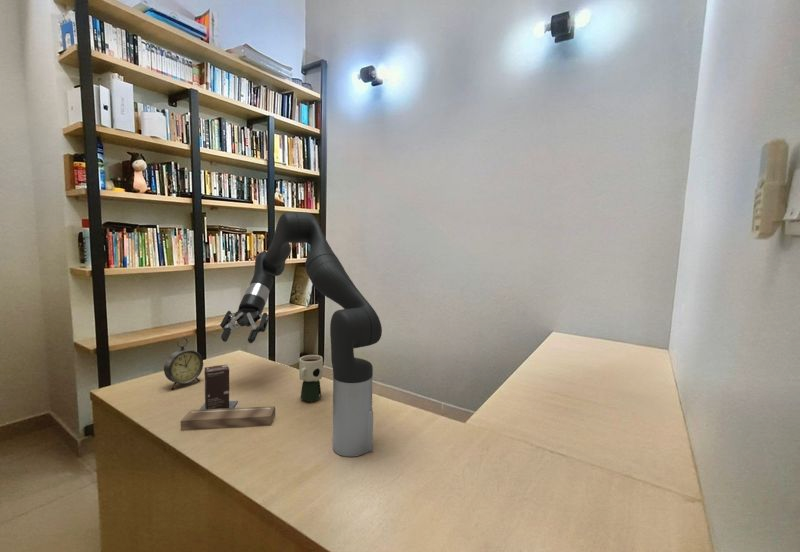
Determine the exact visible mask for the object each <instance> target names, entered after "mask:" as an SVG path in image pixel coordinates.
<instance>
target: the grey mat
mask: <svg viewBox="0 0 800 552" xmlns="http://www.w3.org/2000/svg"><path fill="white" fill-rule="evenodd" d="M238 402H239V401H238V400H229V408H236V406H237V404H238ZM204 409H205V403H204V404H203V405H202V406H201V407H200V408H199V409H198V410H204Z"/></svg>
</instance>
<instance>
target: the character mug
mask: <svg viewBox="0 0 800 552" xmlns="http://www.w3.org/2000/svg"><path fill="white" fill-rule="evenodd" d="M298 359H299V364H298V367H299V369H298V371H299V372H298V373H299V375H298V377H299V380H300V381H303V382H302V383H301V390H300V399H302V400H303V401H307V402H315V401H318V400H320V397H322V389H321V388H322V387H321V382H320V380H322V379H323V377H324V371H323V367H324V359H323V356H321V355H319V354H307V355H303V356H300V357H299V358H298Z"/></svg>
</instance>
